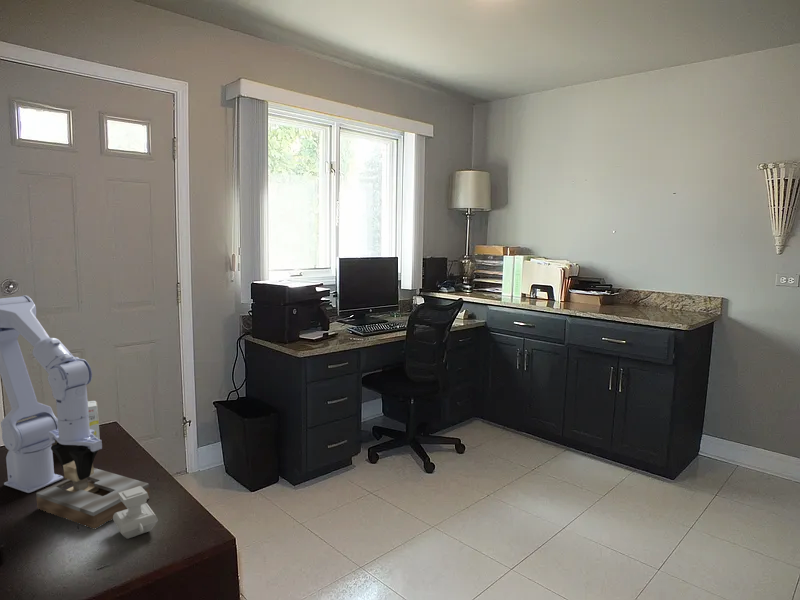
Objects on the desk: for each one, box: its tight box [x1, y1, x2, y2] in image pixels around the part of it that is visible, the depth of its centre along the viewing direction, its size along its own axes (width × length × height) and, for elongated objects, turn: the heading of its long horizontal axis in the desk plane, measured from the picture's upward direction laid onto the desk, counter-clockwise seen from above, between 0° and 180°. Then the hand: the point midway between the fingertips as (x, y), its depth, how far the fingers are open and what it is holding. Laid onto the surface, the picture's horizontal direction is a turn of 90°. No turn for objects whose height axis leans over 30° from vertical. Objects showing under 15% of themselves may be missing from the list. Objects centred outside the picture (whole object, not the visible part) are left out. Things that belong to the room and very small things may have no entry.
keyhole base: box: [35, 467, 151, 530], centre depth 112 cm, size 18×13×4 cm
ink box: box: [88, 400, 101, 440], centre depth 140 cm, size 9×5×12 cm, turn 124°
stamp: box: [112, 486, 159, 540], centre depth 102 cm, size 9×7×8 cm
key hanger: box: [62, 461, 99, 493], centre depth 114 cm, size 5×5×7 cm
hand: (77, 475), depth 113 cm, fingers closed on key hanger, 4 cm apart
